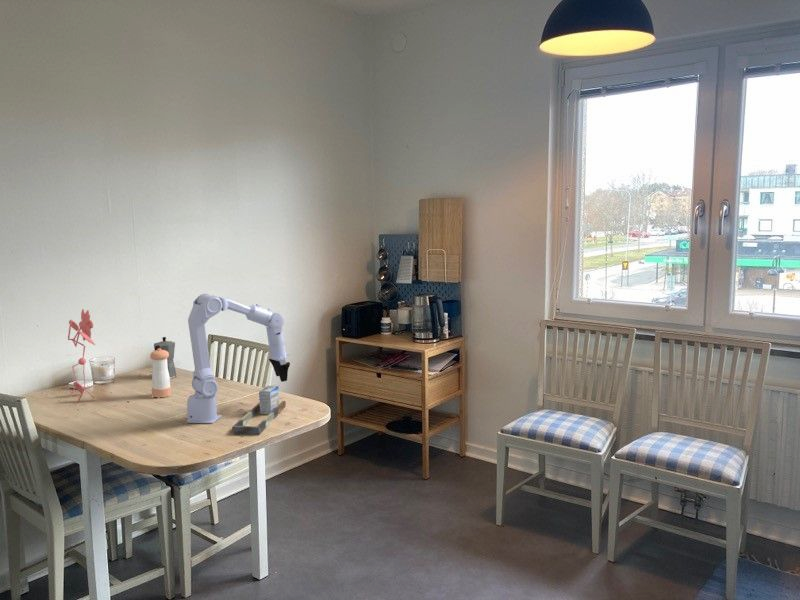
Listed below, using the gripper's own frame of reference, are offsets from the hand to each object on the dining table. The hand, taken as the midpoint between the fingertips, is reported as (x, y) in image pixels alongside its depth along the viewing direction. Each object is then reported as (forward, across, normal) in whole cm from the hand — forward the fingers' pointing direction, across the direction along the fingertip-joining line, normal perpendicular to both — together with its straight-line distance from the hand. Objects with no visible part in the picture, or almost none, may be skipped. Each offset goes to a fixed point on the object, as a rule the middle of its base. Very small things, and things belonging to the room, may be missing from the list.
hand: (281, 378), depth 243 cm
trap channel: (+8, -14, +12) cm, 21 cm away
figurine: (+4, +41, +67) cm, 79 cm away
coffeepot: (+8, +61, +39) cm, 73 cm away
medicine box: (+10, -6, +7) cm, 13 cm away
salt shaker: (+6, +31, +42) cm, 53 cm away
